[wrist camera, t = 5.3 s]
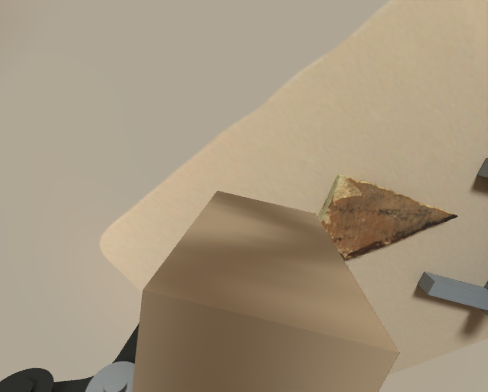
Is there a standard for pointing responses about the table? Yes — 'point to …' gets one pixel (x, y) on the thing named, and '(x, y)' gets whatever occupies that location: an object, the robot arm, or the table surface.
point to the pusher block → (258, 309)
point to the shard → (373, 216)
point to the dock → (457, 282)
